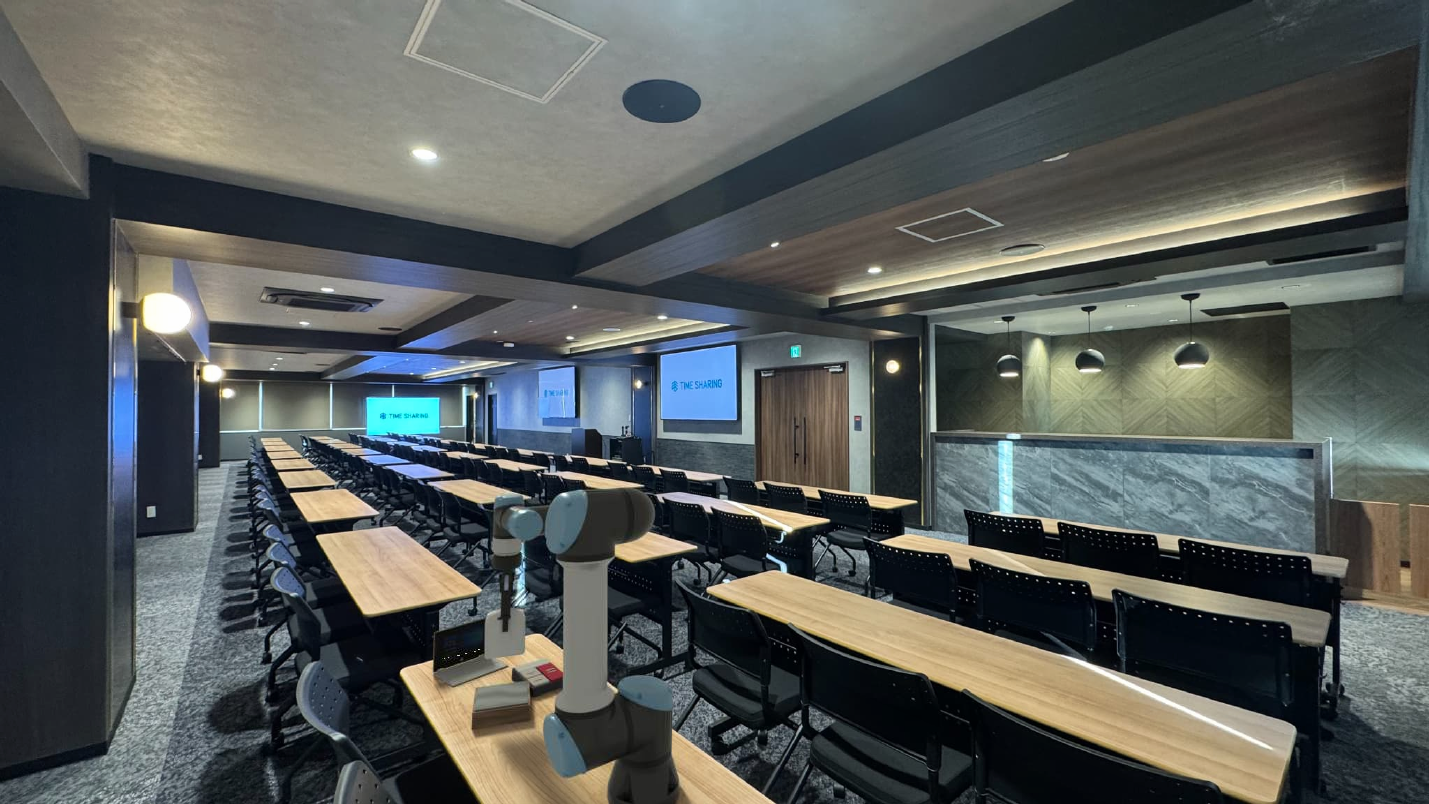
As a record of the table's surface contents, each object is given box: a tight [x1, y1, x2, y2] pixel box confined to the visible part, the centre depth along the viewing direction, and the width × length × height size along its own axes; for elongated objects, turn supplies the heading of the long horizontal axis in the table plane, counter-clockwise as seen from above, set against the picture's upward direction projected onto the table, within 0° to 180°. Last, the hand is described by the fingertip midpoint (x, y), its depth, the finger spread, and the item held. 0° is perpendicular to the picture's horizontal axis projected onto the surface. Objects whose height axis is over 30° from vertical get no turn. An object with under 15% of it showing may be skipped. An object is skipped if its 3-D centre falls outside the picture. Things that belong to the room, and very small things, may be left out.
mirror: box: [471, 681, 531, 730], centre depth 151 cm, size 14×14×4 cm
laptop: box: [432, 617, 509, 687], centre depth 174 cm, size 18×12×13 cm
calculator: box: [511, 657, 563, 699], centre depth 167 cm, size 11×4×15 cm
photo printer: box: [485, 607, 526, 659], centre depth 151 cm, size 10×4×12 cm, turn 109°
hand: (504, 639), depth 151 cm, fingers closed on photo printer, 4 cm apart
